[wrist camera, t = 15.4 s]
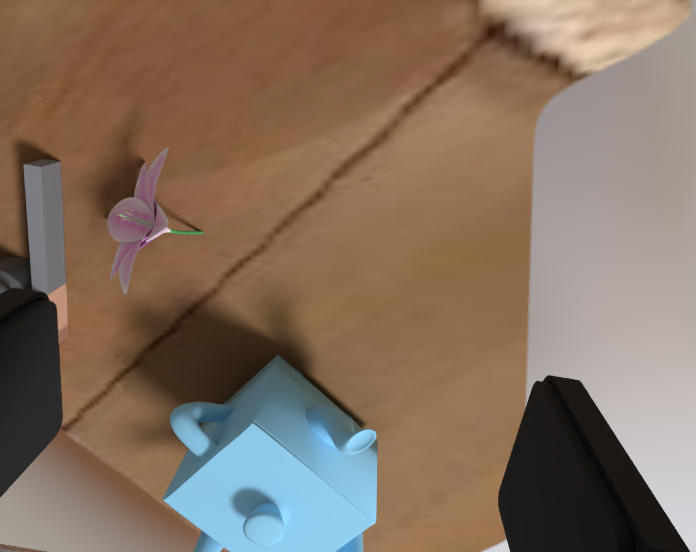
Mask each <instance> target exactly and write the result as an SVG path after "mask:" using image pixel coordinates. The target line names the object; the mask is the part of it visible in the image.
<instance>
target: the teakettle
mask: <svg viewBox="0 0 696 552" xmlns="http://www.w3.org/2000/svg"><path fill="white" fill-rule="evenodd" d="M198 423H202V424H201V426H199V425H198ZM170 424H171V427H172V429H173V431H174V432H175V434H176V435H177V436H178V438H179V439H180V440H181V441H182V442H183V443H184V444H185V445H186V446H187V447H188V448H189V449H188V451H187V453H186V455H185V457H184V459H183V461H182V462H181V464H180V466H179V468H178V470H177V472H176V474H175V476H174V478H173V480H172V482H171V484H170V486H169V487H168V489H167V491H166V493H165V495H164V497H163V500H164V501H165V502H166V503H167V504H168V505H170V506H171V507H172V508H174V509H175V510H176V511H177V512H179V513H180V514H181V515H183V516H184V517H185V518H187V519H188V520H189V521H190V522H192V523H193V524H194V525H196V526H197V527H198V528H200V529H201V534H200V537H199V539H198V542H197V545H196V547H195V549H194V551H193V552H220V551H221V550H222V548H223V547H225V548H226V549H227V550H229V551H230V552H335V551H337V552H363V531H364V530H366V529H367V528H368V527H370V526H372V525H373V524H375V522H376V495H377V441H376V440H375V439H376V432H375V431H374V430H372V429H362V428H361V427H360V426H359V425H358V424H357V423H356V422H355V421H353V419H352V418H351V417H350V415H348V414H347V413H344V412H343V411H342V410H341V409H340V408H339V407H337V406H336V405H335V404H334V403H333V402H332V401H331V400H330V399H328V398H327V397H326V396H325V395H324V394H323V393H322V392H320V391H319V390H318V389H317V388H316V387H315V386H314V385H312V384H311V383H310V382H309V381H308V380H307V379H306V378H304V377H303V375H302V374H301V373H300V372H299V371H298V370H296V369H294V368H293V367H292V366H291V365H290V364H288V363H287V362H286V361H285V360H284V359H283V358H282V357H280V356H279V355H277V356H276V357H274V358H273V359H272V360H271V361H270V362H269V363H268V364H267V365H266V366H265V367H263V368H262V369H261V370H260V371H259V372H258V373H257V374H256V375H255V376H254V377H252V378H251V379H250V380H249V381H248V382H247V383H246V384H245V385H244V386H243V387H241V388H240V389H239V390H238V391H237V392H236V393H235V394H234V395H233V396H232V397H230V398H229V399H228V400H227V401H226V402H225V403H224V404H223V405H222V404H216V403H209V402H189V403H185V404H182V405H180V406H178V407H177V408H175V409H174V411H173V412H172V414H171V416H170Z"/></svg>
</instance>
